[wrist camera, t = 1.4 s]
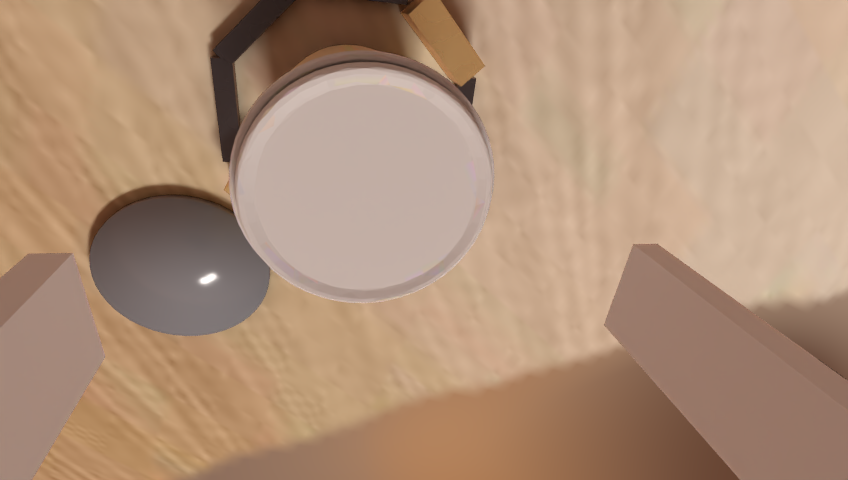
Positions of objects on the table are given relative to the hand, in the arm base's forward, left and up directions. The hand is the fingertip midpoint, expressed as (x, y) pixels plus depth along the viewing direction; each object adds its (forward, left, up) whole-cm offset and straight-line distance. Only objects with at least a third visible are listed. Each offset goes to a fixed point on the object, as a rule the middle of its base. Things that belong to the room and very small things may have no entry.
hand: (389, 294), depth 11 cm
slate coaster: (+10, -10, -17) cm, 22 cm away
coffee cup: (0, 0, -17) cm, 17 cm away
